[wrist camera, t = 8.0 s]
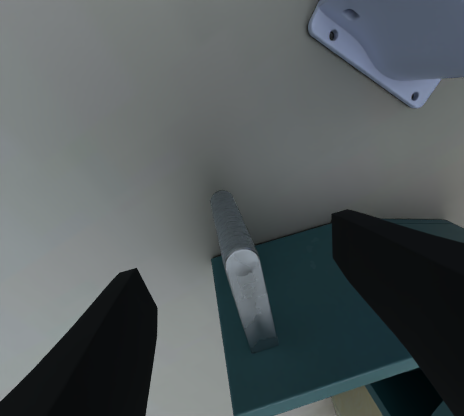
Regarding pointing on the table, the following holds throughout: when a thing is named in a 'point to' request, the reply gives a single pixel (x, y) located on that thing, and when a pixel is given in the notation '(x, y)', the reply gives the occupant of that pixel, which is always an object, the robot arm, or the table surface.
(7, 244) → the table surface
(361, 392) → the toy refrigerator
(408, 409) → the teal toy cabinet
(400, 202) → the table surface
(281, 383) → the teal cabinet door
